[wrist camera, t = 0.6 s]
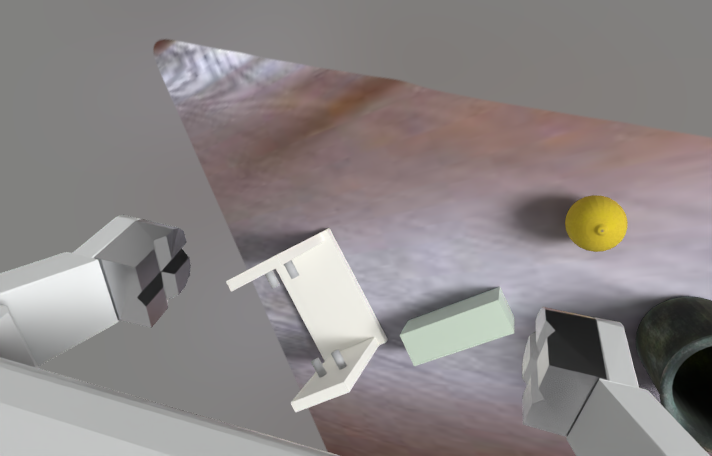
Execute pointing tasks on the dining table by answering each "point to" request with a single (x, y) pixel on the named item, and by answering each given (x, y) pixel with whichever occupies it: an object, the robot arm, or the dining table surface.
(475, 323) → the shelf board
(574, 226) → the lemon
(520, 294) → the dining table surface
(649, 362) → the mug
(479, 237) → the dining table surface
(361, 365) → the shelf unit
